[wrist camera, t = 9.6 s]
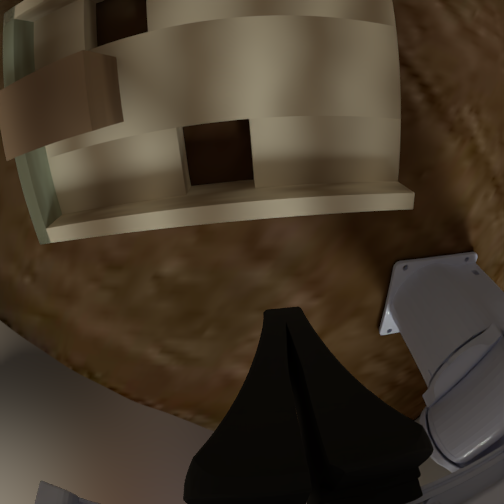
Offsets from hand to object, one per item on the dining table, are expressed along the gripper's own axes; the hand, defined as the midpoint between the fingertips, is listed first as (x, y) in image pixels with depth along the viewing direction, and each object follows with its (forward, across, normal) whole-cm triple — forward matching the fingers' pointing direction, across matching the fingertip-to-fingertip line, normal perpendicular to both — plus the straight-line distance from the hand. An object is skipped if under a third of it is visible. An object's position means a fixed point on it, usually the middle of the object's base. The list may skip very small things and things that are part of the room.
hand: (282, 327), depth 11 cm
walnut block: (+8, +10, -10) cm, 17 cm away
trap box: (+10, +2, -10) cm, 14 cm away
